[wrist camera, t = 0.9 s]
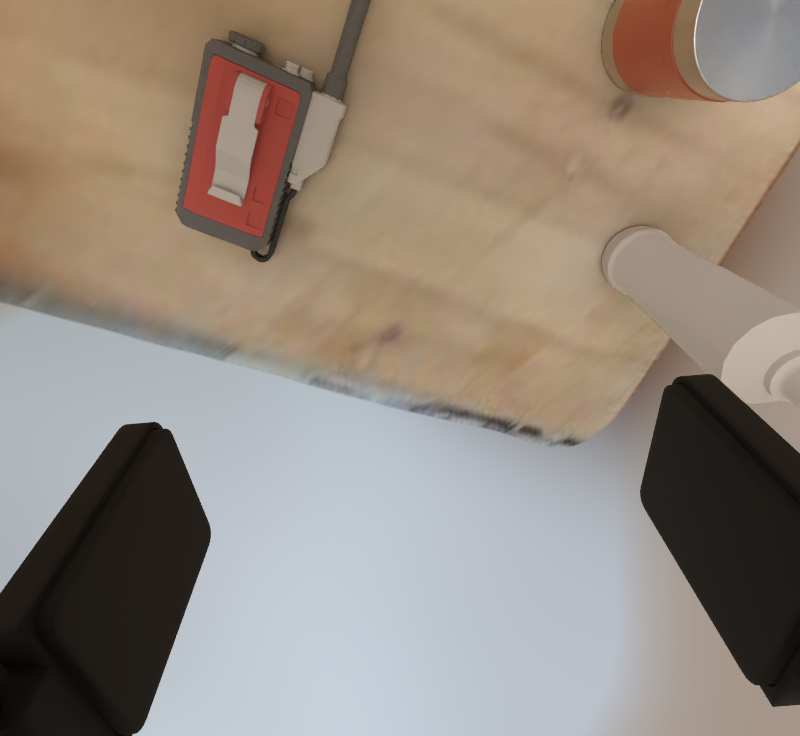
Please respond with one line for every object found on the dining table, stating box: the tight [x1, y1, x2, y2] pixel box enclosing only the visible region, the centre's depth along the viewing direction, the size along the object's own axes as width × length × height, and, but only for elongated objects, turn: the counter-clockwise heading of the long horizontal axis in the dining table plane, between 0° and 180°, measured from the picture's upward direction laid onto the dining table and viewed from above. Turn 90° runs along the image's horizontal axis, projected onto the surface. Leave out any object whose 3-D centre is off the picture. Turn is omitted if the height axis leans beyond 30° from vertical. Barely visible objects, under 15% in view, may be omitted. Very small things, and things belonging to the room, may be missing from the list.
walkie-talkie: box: [175, 0, 371, 262], centre depth 31 cm, size 9×4×20 cm
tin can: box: [602, 0, 800, 102], centre depth 26 cm, size 7×7×11 cm
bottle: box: [602, 225, 800, 407], centre depth 28 cm, size 5×5×25 cm
